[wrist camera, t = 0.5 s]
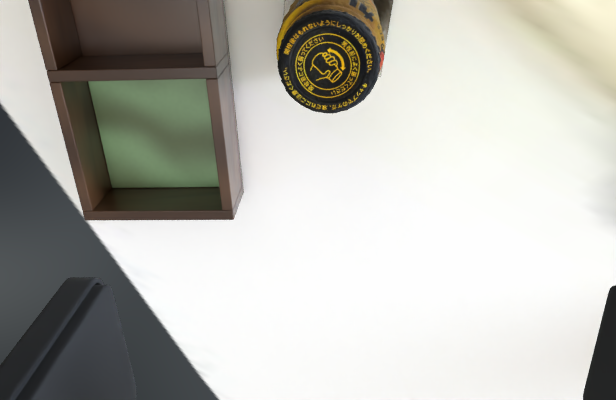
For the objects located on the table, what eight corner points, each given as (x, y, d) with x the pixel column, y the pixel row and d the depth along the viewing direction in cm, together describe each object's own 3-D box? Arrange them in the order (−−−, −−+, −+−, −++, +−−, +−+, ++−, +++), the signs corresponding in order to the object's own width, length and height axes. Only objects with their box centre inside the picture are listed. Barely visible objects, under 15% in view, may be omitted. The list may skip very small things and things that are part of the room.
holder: (36, -112, 36) (-2, -114, 32) (211, -120, 35) (194, -123, 31) (107, 193, 46) (84, 220, 42) (243, 192, 45) (233, 219, 41)
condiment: (280, 64, 40) (256, 121, 30) (289, -65, 36) (266, -53, 26) (380, 76, 40) (393, 137, 30) (401, -53, 36) (424, -35, 26)
